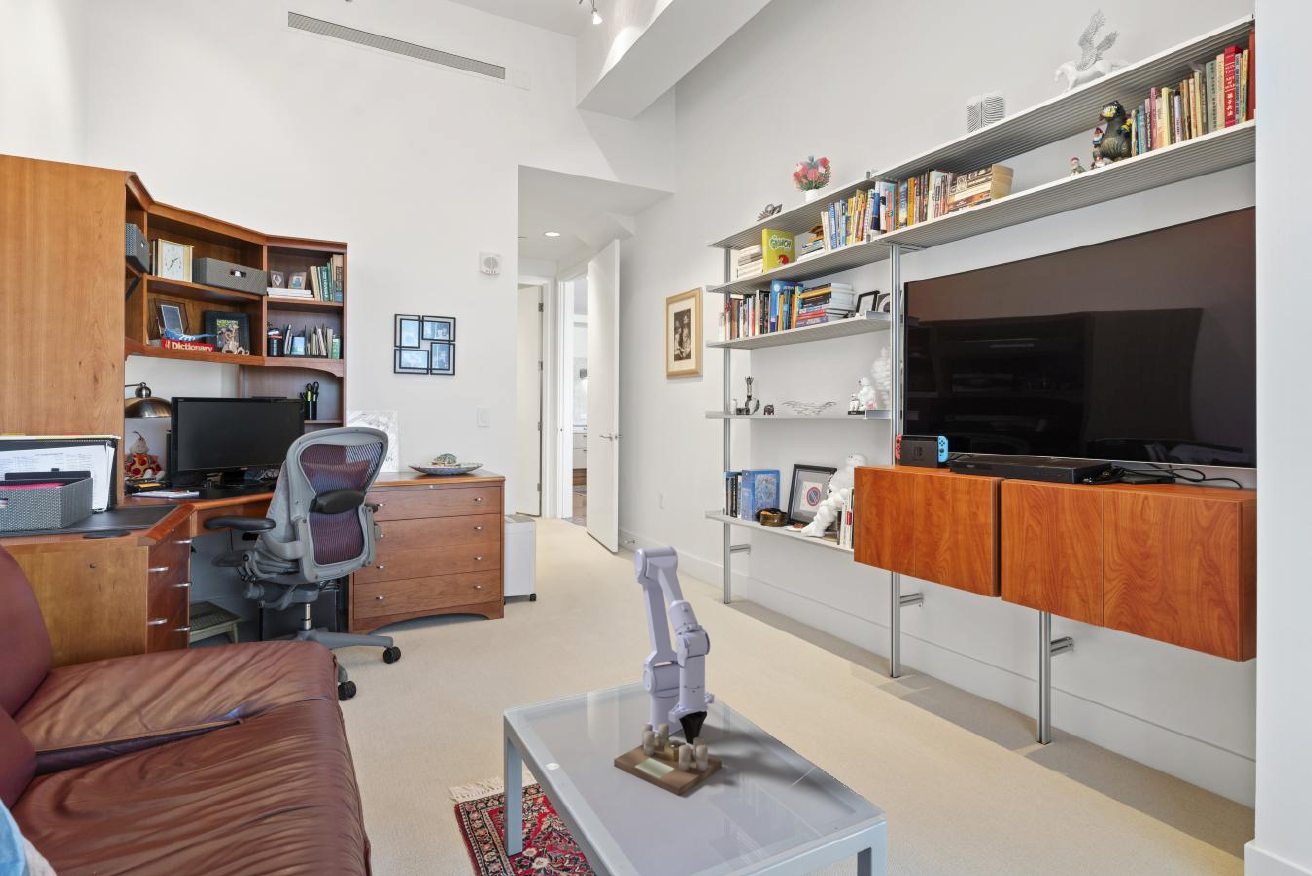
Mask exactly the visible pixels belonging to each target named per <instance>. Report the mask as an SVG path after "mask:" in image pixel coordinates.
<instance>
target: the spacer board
mask: <svg viewBox="0 0 1312 876" xmlns="http://www.w3.org/2000/svg"><path fill="white" fill-rule="evenodd" d="M641 732H642V733H641V735H642V736H641V744H640V745H638V746H637V747H635V748H633V749H631V750H628V751H627V752H626V753H624V754H621V755H619V756H618V757H615V759H613V761H614V762H613V764H614V765H613V766H614V767H615V768H617V769H620V770H621V771H624V772H626V773H628V774H630V775H632V776H635V777H638V778H639V779H642V780H643V781H646V782H648V783H650V784H652V785H654V786H656V787H659V788H661V789H662V790H665V791H667V792H670V793H672V794H674V795H676V796H680V795H682V794H683V793H685V792H687V791H689V789H691V788H693V787H694V786H696V785H697V784H699V783H701V782H703V780H705V779H706V778H708V777H710V776H711V775H712V774H714V773H715V772H718V770H720V769H722V768H723V765H722V764H723V763H722V761H723V760H722V759H719V758H716V757H714V756H712V755H709V754H708V751H709V749H708V746H707V745H705V738H704V737H702V736H699V737H695V738H694V739H693V745H692V746H693V748H691V746H690V745H687V744H686V745H681V746H680V747H679V761H671V760H669V759H666V758H664V747H665V744H666V742H667V741H672V740H671V739H670V736H669V725H668V724H660V725H659V726H658V735H657V736H656V735H655V734H656V733H655V732H653V725H651V724H647V723H644V724H642V726H641Z"/></svg>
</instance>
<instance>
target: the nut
mask: <svg viewBox="0 0 1312 876" xmlns="http://www.w3.org/2000/svg"><path fill="white" fill-rule="evenodd" d="M681 745H687V742H683V741H682V740H678V739H673V740H671V741H667V742H666V744H665V747H664V758H666V759H669V760H671V761H679V747H680V746H681Z"/></svg>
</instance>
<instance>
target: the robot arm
mask: <svg viewBox="0 0 1312 876" xmlns="http://www.w3.org/2000/svg"><path fill="white" fill-rule="evenodd" d="M678 564H679V558H678V553H677V550H676V549H675V548H674V546H672V545H667V546H662V547H661V546H660V547H648V548H643V547H642V548H641V547H640V548H637V550H636V552H635V553H634V557H633V566H634V573H635V574H634V575H635V579H636V583H638V584H639V585H642V591H643V601H644V606H645V607H644V608H645V612H646V618H647V619H646V620H647V626H648V632H649V639H650V640H649V641H650V646H651V647H650V648H651V652H650V654H649V655H648V656H647V657H646V658H645V659H644V660H643V663H642V672H643V673H642V682H643V683H642V684H643V687H644V689H645V691H647V693H648V694H649V697H650V699H649V700H650V702H649V713H650V714H649V722H647V723H646V724H651V725H653V732H654V733H655V734H658V726H659V725H660V724H668V725H669V737H670V736H672V735H674V734H676V733H677V732H679V731H681V730H683V732H684V737H685V741H686V744H689V745H692V746H693V739H694V738H695V737H700V733H701V730H702V726H703V725H704V722H705V720H706V718H707V716H708V710H709V704H710V705H711V704H714V703H715V694H713V693H710V692H706V656H707V655H709V653H710V650H711V641H710V637H709V633H708V631H707V630H705V629H704V628H703V626H702V625H701V624H699V622H698V620H697V618H696V615H695V612H694V610H693V607H692V605H691V603H690V602H689V601H686V600H685V599H684V596H683V593H682V589H681V585H680V582H679V579H678V574H677V570H678V566H679V565H678ZM664 596H665V597H664ZM665 598H666V601H667V602H668V604H669V607H668V610H666V604H665ZM667 615H668V616H667ZM668 617H669V620H670V624H671V625H672V628H673V631H674V635H675V642H674V646H675V651H674V650H673V648H672V642H671V636H670V629H669V628H670V627H669V623H668ZM660 663H661V664H660ZM663 663H664V664H663ZM656 664H657V665H656ZM658 664H659V665H658Z"/></svg>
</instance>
